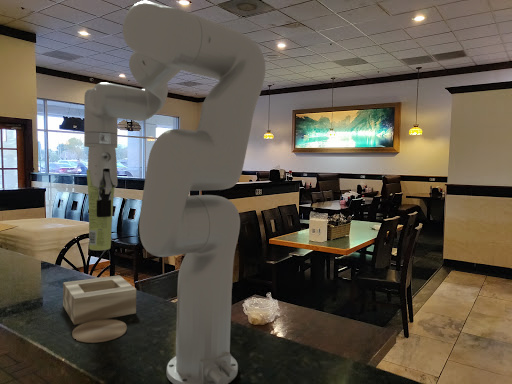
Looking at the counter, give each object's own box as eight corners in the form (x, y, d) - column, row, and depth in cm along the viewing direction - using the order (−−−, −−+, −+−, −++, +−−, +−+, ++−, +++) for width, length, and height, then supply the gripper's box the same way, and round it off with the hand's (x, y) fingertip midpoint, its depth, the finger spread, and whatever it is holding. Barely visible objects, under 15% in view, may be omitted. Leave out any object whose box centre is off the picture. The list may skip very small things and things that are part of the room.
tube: (109, 246, 100) (109, 170, 99) (116, 249, 96) (116, 170, 95) (86, 248, 96) (86, 169, 95) (92, 252, 92) (92, 170, 91)
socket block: (135, 313, 96) (136, 289, 95) (74, 324, 87) (74, 298, 87) (119, 296, 107) (119, 275, 107) (63, 305, 99) (63, 282, 98)
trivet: (133, 335, 83) (133, 332, 83) (78, 347, 77) (78, 344, 77) (118, 318, 92) (118, 315, 92) (67, 327, 86) (67, 325, 86)
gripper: (127, 140, 90) (126, 218, 91) (107, 143, 104) (107, 211, 105) (93, 138, 86) (93, 220, 86) (77, 142, 99) (77, 212, 100)
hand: (100, 214), depth 96 cm, fingers closed on tube, 4 cm apart
